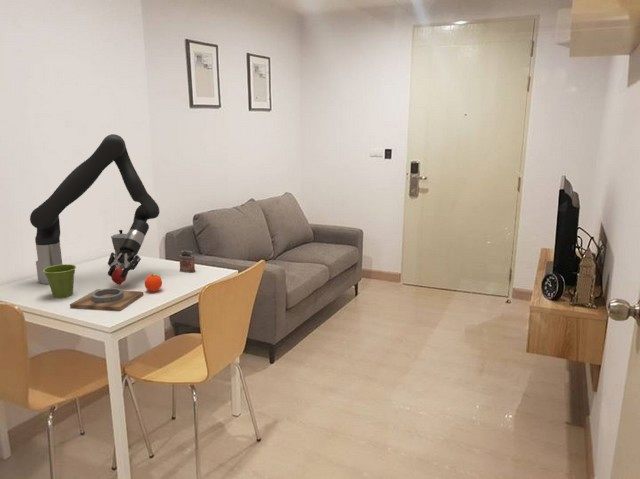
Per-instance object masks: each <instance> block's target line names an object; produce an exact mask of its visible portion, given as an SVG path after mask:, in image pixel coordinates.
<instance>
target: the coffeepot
mask: <svg viewBox="0 0 640 479" xmlns="http://www.w3.org/2000/svg"><path fill="white" fill-rule="evenodd" d="M126 234H127V233H123V230H122V229H119V230H118V233H117V234H112V235H111V236H110V237H111V242H112V245H113V249H114V254H116V253H118V252H119V251H120V246H121V244H122V242H123V240H124V238H125V236H126ZM118 262H119V261H118ZM115 265H116V264H115ZM118 267H119V266H118ZM124 268H125V263H122V264H121V265H120V269H122V270H123V269H124Z"/></svg>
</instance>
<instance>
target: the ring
mask: <svg viewBox="0 0 640 479" xmlns="http://www.w3.org/2000/svg"><path fill="white" fill-rule="evenodd" d="M96 290H97V289H96ZM94 291H95V290H94ZM123 291H124V289H121V288H119V287H117V288H115V287H109V288H101V290H97V291H95V292H93V291H92V292H93V293H92V294H91V298H92V301H94V302H96V303H107V302H114V301H117V300H120V299H122V298H123V297H124V294H123ZM105 294H116V295H113V296H107V297H98V296H101V295H105Z"/></svg>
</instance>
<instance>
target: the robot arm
mask: <svg viewBox="0 0 640 479" xmlns="http://www.w3.org/2000/svg"><path fill="white" fill-rule="evenodd" d="M113 162H114V163H115V165H116V167H117V168H118V171H119V174H120V176H121V179H122V181H123V184H124V186H125V188H126V190H127V192H128V194H129V196H130V197H131V199H132V201H134V202H135V203H139V204H140V205H139V206H138V207H137V208H136V209H135V212H134V217H133V222H132V224H131V226H130V228H129V230H128V232H126V233H125V234H126V236H125V238H124V240H123V242H122V244H121V246H120V251H119V252H118V253H116V254H115V252H110V256H109V259H108V262H107V265H108V266H109V269H108V271H107V275H108V276H109V277H111V275H112V273H113V271H114V270H115V269H117V267H118V266H120V265H121V264H122V263H125V268H124V269H122V270H123V271H122V273H121V277H122V278H125V277H126V276H128V274H129V272H130V271H134V270H135V269H136V267H137V266H138V264H139V263H140V261H141V260H142V259H141V257H140V256H139V255H138V254H139V252H140V249H141V247H142V246H143V243H144V240H145V238H146V235H147V233H148V231H149V228H150V226H149V223H148V220H152V219H157V218H158V217H159V215H160V207H159V205H158V203H157V202H156V200H154V198H153V197H152V196H151V195H150V194H149V193H148V190H147V189H146V187H145V185H144V184H143V181H142V180H141V177H140V176H139V174H138V173H137V171H136V169H135V167H134V164H133V163H132V160H131V158H130V155H129V152H128V149H127V145H126V142H125V140H124V138H123V137H122V136H120V135H118V134H113V133H112V134H108V135H107V136H105V137H104V138H103V139H102V141H101V143H100V144H99V145H98V147H97V148H96V149H95V150H94V152H93V153H92V154H91V155H90V156H89V157H88V158H87V159H86V160H84V161H83V162H82V163H80V164H79V165H78V166H76V167H75V168H74V169H73V170H71V172H70V173H69V174H68V175H67V176H66V177H65V179H63V180H62V182H61V183H60V184H59V185H58V187H57V188H56V189H55V190H54V191H53V192H52V194H51V195H50V196H49V197H48V198H47V199H45V201H43V202H42V203H41V204H40V205H39V206H38V207H36V208H34V209H33V210H32V211H31V213H30V215H29V216H30V217H29V221H30V224H31V225H32V226H33V227H34V228H36V236H35V237H34V238H35V240H34V241H35V250H36V256H37V260H36V261H35V265H36V274H37V283H39V284H42V285H49V282H48V279H47V277H46V275H45V273H44V272H43V270H44V269H45V268H47V267H50V266H55V265H62V264H63V259H62V258H63V257H62V248H61V239H60V238H61V223H60V214H61V213H62V212H63V211H64V210H65V209H66V208H67V207H68V206H69V205H71V204H73V203H74V202H75V201H77V200H78V199H79V198H80V197H82V195H84V194H85V193H86V192H87V191H88V189H90V188H91V186H92V185H94V183H95V182H96V181H97V180H98V178H99V177H100V176H101V174H102V173H103V172H104V170H106V168H107V167H108V166H110V165H111V164H112V163H113ZM118 261H119V262H118ZM115 264H116V265H115ZM126 278H127V277H126Z"/></svg>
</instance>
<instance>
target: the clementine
mask: <svg viewBox="0 0 640 479" xmlns="http://www.w3.org/2000/svg"><path fill="white" fill-rule="evenodd" d="M160 276H161V277H162V275H161V274H160V275H159V274H157V273H155V274H149V275H148V276H147V277H146V278H145V280H144V286H145V288H146V290H148V291H149V292H158V291H159V290H160V289H161V287H162V286H163V281H162V279H164V277H162V278H161V277H160Z"/></svg>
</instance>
